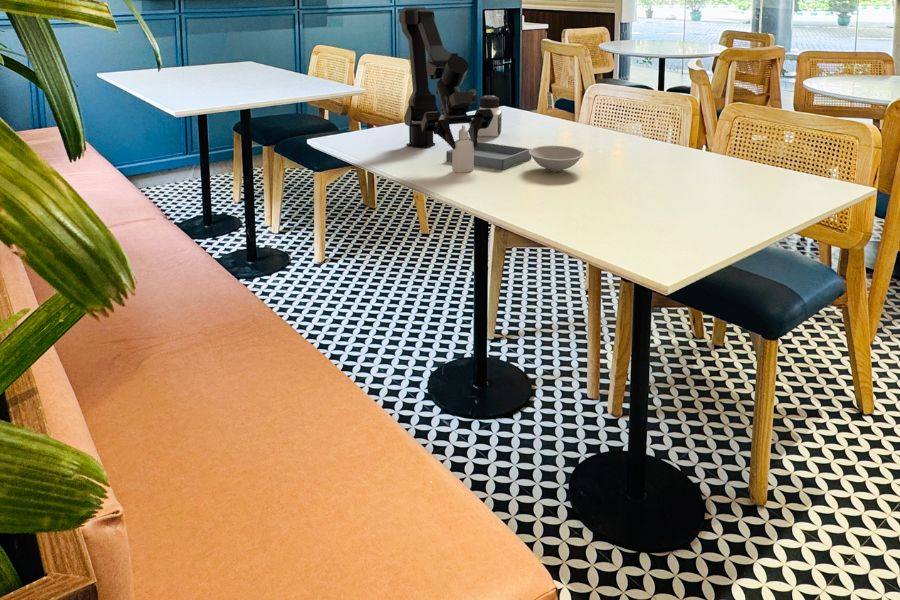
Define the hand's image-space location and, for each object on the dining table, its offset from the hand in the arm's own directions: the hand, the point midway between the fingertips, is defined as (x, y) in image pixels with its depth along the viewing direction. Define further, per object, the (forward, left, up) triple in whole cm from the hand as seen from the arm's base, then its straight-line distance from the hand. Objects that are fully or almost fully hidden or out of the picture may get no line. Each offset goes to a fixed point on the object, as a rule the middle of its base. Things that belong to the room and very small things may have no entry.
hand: (465, 147), depth 214 cm
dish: (+19, +15, -7) cm, 25 cm away
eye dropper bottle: (-1, +1, -7) cm, 7 cm away
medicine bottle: (-21, +47, -7) cm, 52 cm away
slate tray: (-2, +16, -7) cm, 17 cm away
